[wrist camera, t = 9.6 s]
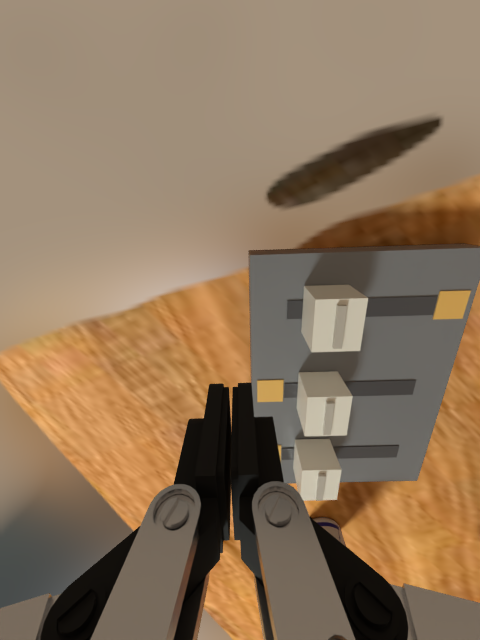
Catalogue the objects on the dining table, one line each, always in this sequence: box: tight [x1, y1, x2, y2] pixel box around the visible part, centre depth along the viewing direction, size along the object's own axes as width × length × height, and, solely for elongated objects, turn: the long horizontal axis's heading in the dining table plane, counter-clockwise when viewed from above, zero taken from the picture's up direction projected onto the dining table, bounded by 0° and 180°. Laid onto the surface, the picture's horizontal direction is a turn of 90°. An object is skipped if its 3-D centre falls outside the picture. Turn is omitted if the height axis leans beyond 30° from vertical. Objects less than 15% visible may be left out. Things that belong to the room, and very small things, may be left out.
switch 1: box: [301, 285, 368, 352], centre depth 20 cm, size 4×4×4 cm
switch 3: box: [293, 439, 342, 501], centre depth 26 cm, size 4×4×4 cm
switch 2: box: [297, 371, 353, 436], centre depth 23 cm, size 4×4×4 cm
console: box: [249, 244, 480, 483], centre depth 26 cm, size 18×25×3 cm
